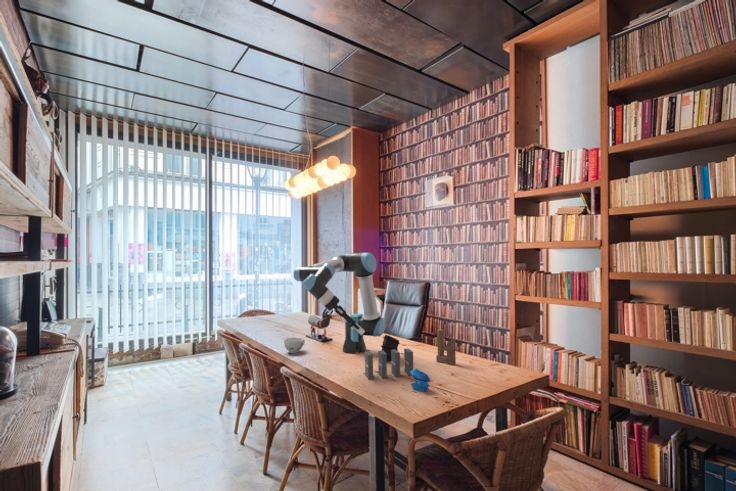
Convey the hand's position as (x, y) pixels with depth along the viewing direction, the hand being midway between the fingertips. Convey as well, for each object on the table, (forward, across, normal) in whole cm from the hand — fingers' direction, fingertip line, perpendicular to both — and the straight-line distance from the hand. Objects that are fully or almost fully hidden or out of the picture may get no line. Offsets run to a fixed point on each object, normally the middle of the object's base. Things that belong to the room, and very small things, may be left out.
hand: (361, 331), depth 184 cm
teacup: (-5, -61, -38) cm, 72 cm away
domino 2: (+24, 0, -8) cm, 25 cm away
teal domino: (0, 0, -5) cm, 5 cm away
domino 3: (+29, 0, -4) cm, 29 cm away
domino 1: (+19, 0, -14) cm, 23 cm away
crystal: (+32, +23, -1) cm, 39 cm away
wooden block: (+53, -13, +20) cm, 58 cm away
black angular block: (+32, -26, 0) cm, 41 cm away
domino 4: (+34, 0, +1) cm, 34 cm away
